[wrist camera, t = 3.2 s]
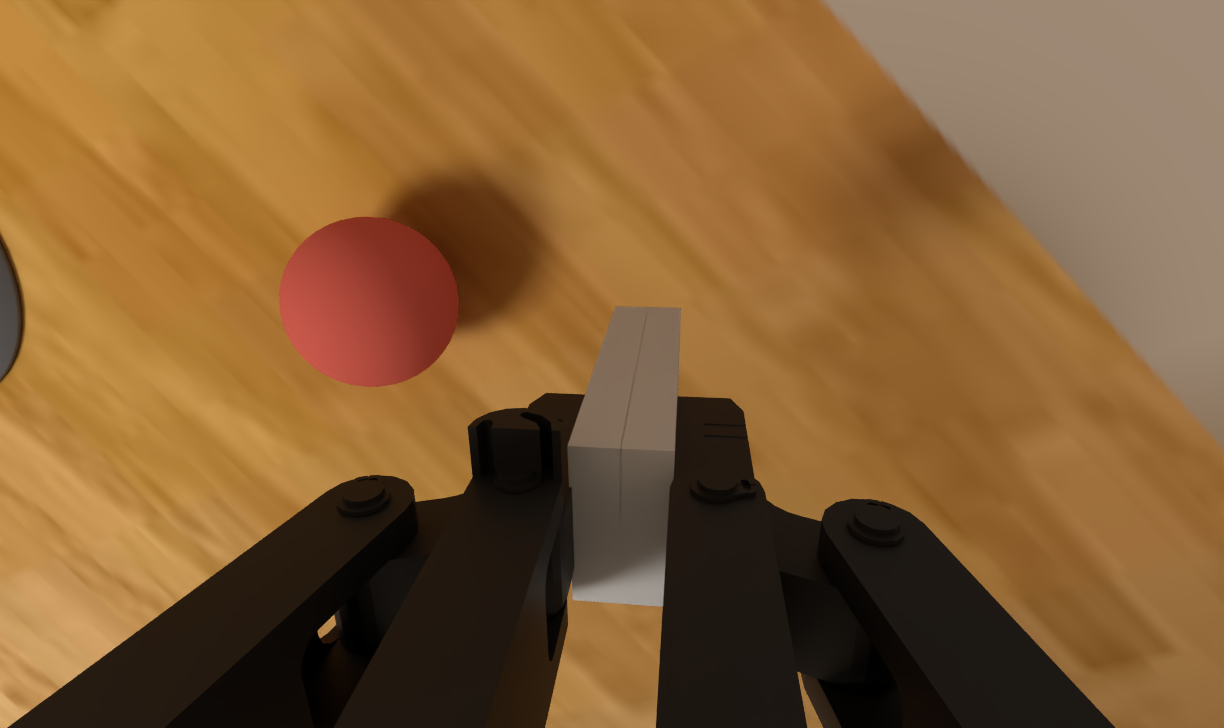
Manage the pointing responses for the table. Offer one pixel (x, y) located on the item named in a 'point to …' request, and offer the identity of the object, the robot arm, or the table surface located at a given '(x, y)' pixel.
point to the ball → (369, 301)
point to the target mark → (8, 315)
